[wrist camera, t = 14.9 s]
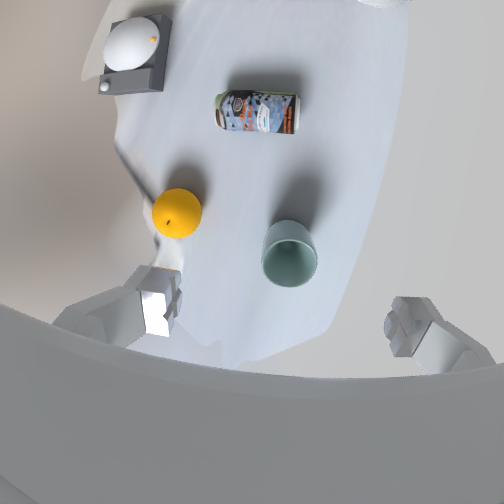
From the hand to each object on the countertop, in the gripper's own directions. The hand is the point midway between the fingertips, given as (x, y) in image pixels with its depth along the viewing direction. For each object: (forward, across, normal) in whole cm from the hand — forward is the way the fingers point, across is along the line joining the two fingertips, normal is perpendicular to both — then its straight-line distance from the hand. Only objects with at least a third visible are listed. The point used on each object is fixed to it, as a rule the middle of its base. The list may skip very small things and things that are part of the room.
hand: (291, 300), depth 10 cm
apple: (+35, +15, +9) cm, 39 cm away
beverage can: (+32, -2, -9) cm, 33 cm away
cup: (+35, -3, +12) cm, 38 cm away
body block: (+35, +24, -17) cm, 46 cm away
